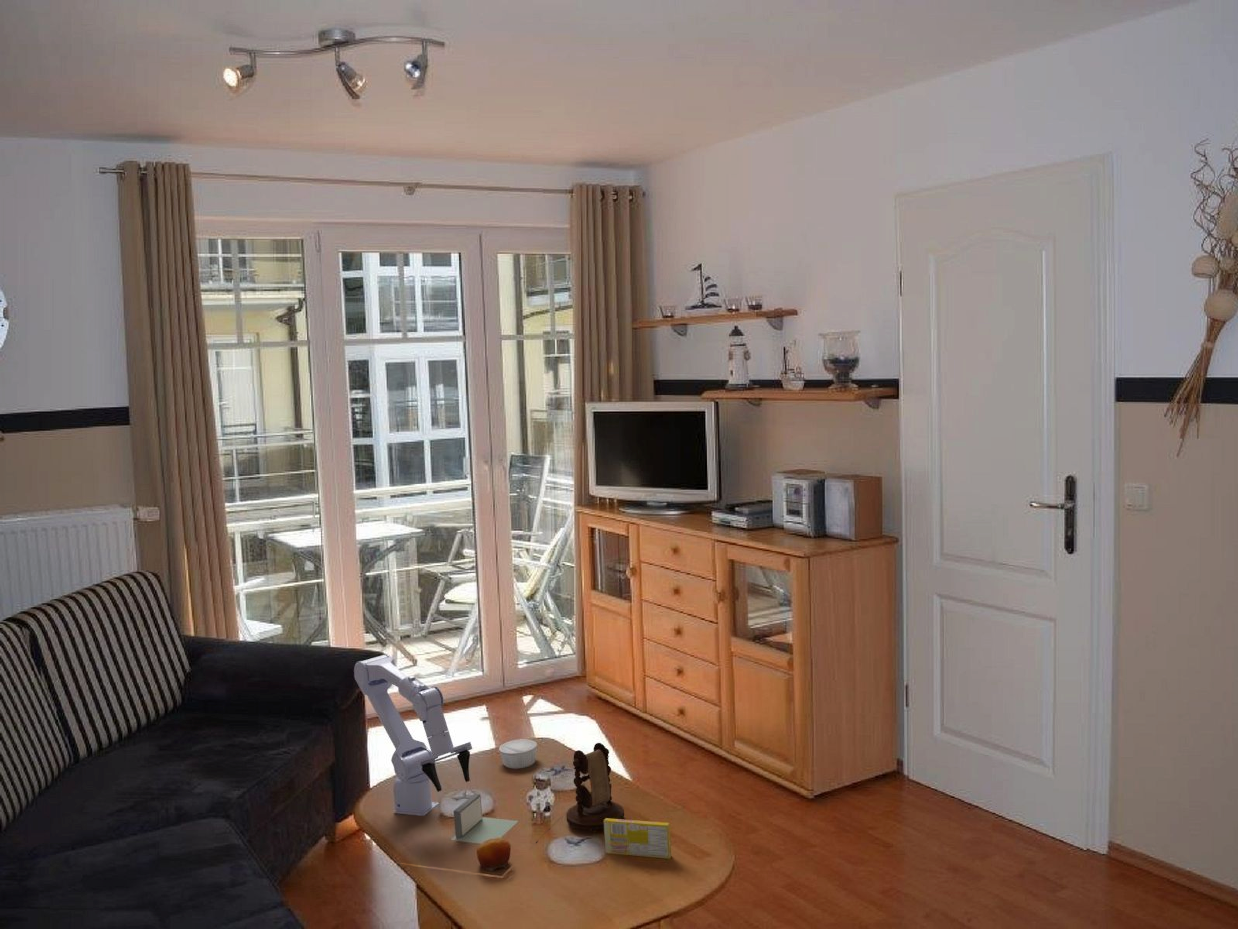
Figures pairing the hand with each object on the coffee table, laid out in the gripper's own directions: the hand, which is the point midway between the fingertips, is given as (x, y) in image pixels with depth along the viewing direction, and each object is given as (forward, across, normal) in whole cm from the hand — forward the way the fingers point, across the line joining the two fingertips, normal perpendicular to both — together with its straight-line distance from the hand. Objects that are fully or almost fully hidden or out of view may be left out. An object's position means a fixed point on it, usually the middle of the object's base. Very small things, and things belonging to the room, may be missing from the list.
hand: (453, 786), depth 291 cm
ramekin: (+2, +10, +44) cm, 45 cm away
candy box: (+28, +41, -15) cm, 52 cm away
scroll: (+20, +31, +3) cm, 38 cm away
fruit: (+20, +8, -19) cm, 29 cm away
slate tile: (+11, 0, +1) cm, 11 cm away
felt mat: (+13, +4, 0) cm, 14 cm away
